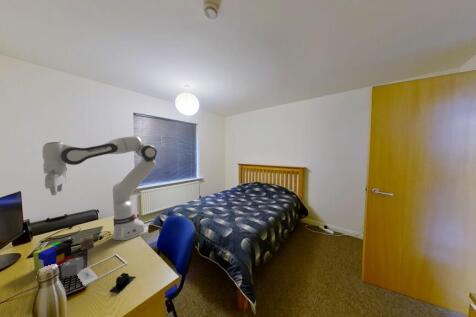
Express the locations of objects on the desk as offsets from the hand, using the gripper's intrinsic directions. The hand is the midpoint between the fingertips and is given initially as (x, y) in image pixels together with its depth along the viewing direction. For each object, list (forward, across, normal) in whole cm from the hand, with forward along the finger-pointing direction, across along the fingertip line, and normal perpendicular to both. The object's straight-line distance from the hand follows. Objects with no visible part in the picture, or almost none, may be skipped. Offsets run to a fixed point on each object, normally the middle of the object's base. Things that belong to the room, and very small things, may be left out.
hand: (56, 193), depth 96 cm
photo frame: (+39, -28, -22) cm, 53 cm away
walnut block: (+38, +2, -12) cm, 40 cm away
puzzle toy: (+38, -10, 0) cm, 40 cm away
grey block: (+38, -24, -10) cm, 46 cm away
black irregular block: (+39, -47, -31) cm, 68 cm away
